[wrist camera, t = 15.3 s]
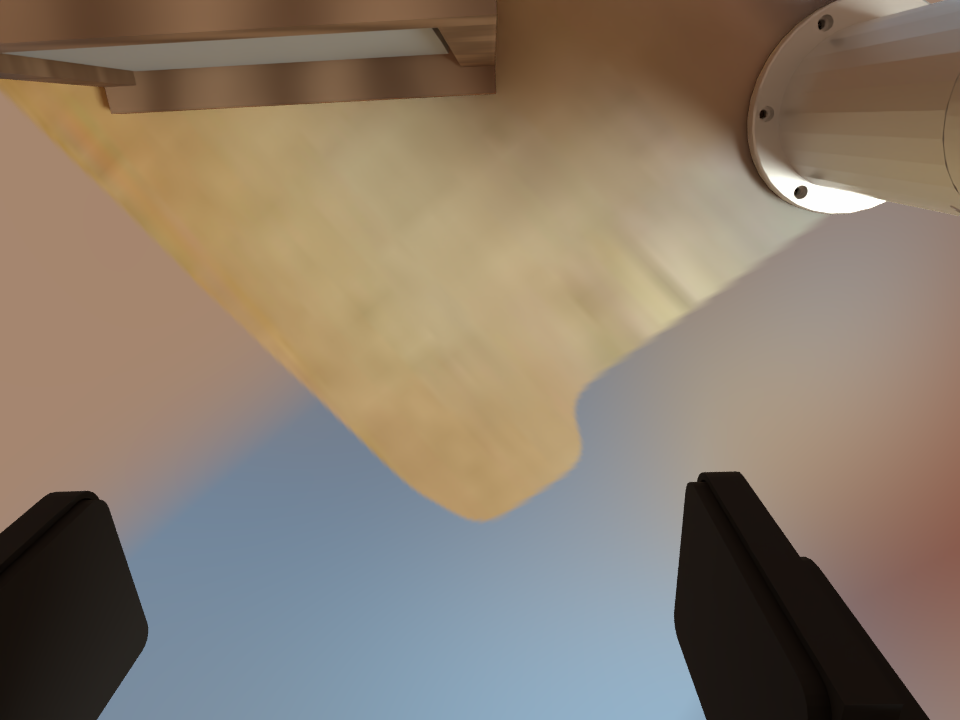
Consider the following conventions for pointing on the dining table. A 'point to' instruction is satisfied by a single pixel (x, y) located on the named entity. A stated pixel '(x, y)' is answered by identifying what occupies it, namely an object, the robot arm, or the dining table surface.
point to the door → (254, 50)
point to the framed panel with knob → (241, 15)
